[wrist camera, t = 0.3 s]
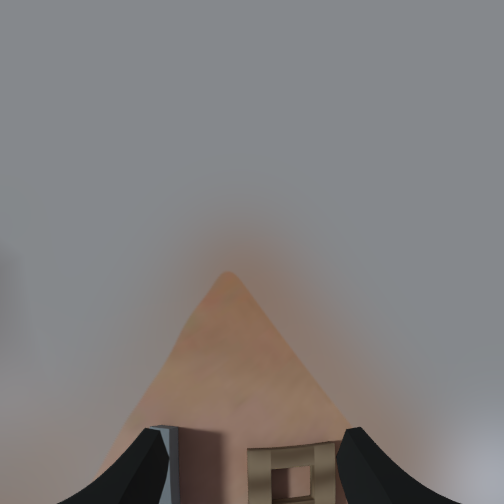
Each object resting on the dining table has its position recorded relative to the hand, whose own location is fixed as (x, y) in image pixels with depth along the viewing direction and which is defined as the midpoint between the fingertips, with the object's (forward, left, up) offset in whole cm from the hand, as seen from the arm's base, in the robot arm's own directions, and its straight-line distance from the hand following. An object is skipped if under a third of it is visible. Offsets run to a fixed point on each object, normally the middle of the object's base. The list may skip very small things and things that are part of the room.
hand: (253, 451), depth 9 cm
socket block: (-10, -7, -30) cm, 33 cm away
